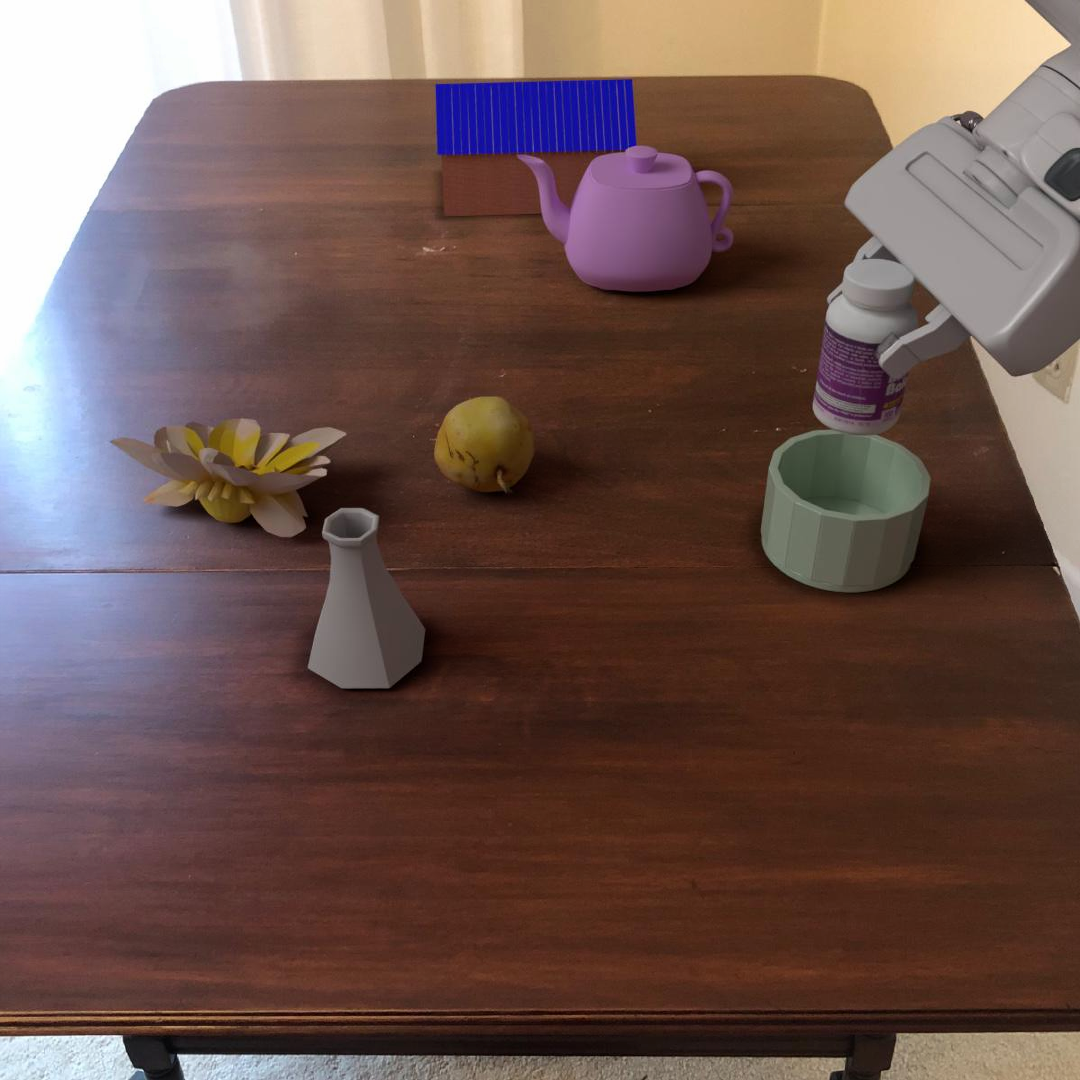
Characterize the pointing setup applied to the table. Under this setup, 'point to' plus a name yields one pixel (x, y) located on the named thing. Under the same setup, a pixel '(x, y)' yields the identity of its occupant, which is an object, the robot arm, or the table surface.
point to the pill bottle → (863, 348)
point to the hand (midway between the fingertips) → (858, 340)
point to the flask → (363, 611)
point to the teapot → (636, 220)
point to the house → (525, 139)
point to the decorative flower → (236, 470)
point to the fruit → (484, 444)
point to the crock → (843, 510)
